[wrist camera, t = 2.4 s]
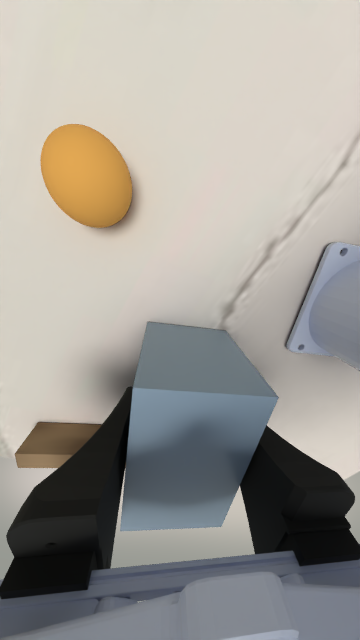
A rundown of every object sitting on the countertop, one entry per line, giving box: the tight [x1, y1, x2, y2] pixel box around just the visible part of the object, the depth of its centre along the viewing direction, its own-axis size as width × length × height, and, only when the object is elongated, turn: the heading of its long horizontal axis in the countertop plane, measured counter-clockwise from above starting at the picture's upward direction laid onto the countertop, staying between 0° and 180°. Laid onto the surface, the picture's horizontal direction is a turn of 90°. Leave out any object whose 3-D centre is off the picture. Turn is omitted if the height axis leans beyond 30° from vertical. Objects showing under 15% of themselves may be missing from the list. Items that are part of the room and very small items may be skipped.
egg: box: [41, 124, 132, 228], centre depth 8 cm, size 4×4×4 cm
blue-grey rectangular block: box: [120, 322, 279, 531], centre depth 12 cm, size 6×10×7 cm, turn 171°
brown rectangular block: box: [15, 422, 126, 468], centre depth 15 cm, size 10×2×2 cm, turn 81°
